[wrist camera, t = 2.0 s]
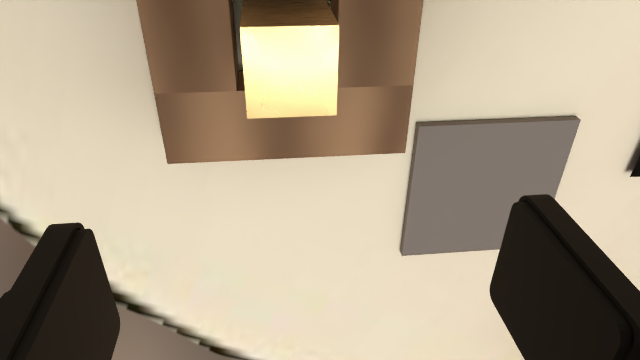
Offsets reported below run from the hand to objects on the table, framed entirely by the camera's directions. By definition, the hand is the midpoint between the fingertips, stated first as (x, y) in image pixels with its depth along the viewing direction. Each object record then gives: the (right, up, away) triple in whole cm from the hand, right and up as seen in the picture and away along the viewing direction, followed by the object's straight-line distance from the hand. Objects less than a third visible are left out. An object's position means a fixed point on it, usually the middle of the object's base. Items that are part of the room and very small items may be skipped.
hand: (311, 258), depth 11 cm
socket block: (-2, +11, +16) cm, 19 cm away
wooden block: (-2, +11, +16) cm, 19 cm away
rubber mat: (+12, +1, +24) cm, 27 cm away
